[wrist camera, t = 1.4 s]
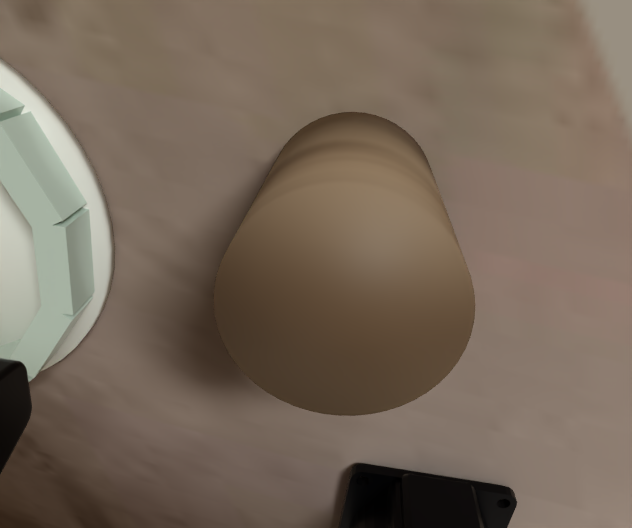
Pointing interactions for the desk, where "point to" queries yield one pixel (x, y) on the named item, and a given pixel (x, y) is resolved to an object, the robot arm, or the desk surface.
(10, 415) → the robot arm
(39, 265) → the ring dish
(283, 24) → the desk surface
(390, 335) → the brown domed cylinder
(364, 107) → the desk surface
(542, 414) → the desk surface
